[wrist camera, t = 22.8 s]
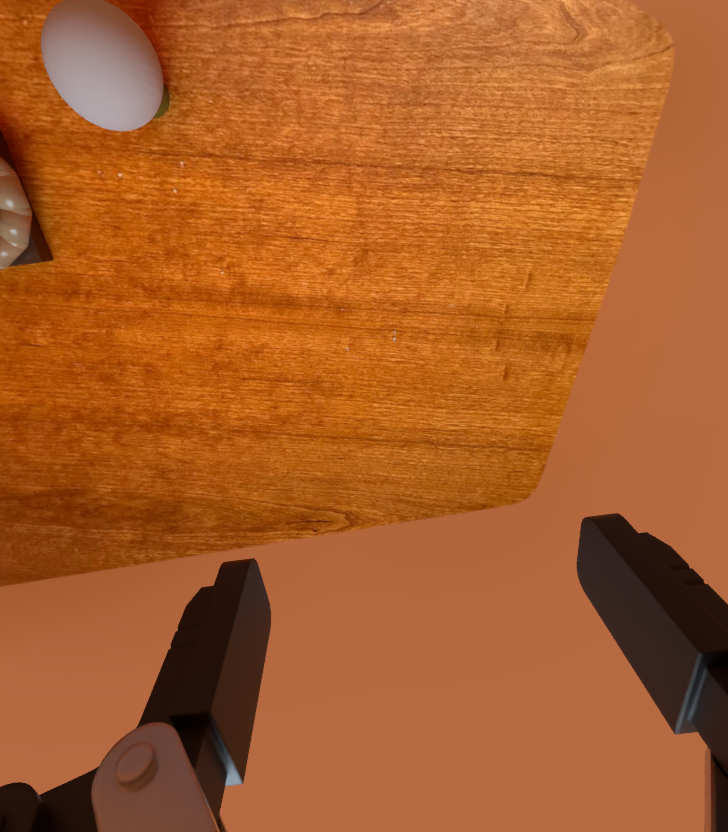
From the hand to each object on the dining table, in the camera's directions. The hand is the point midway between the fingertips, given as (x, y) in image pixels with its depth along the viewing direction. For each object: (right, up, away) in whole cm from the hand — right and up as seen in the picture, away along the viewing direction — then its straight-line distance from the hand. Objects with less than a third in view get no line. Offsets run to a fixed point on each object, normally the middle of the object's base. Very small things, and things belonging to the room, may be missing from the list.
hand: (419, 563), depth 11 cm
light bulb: (-16, +26, +20) cm, 37 cm away
